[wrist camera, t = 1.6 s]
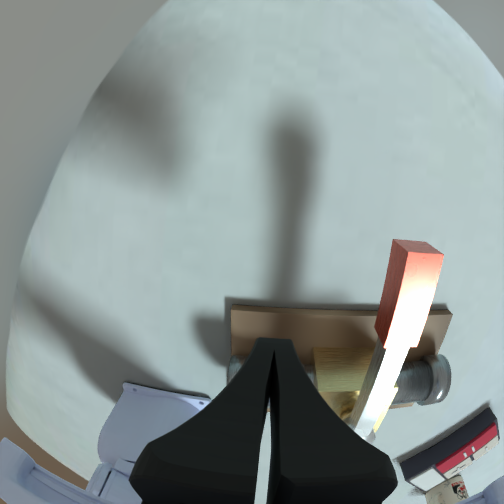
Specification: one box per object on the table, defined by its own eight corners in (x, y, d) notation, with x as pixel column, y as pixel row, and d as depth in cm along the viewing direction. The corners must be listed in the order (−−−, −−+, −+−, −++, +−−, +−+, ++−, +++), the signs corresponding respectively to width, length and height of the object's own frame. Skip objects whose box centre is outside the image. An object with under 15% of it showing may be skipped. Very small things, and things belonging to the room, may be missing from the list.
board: (233, 402, 25) (232, 408, 24) (232, 304, 21) (230, 309, 20) (409, 400, 23) (412, 406, 22) (448, 309, 20) (452, 314, 19)
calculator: (501, 442, 23) (424, 494, 26) (491, 426, 27) (418, 476, 30) (499, 421, 20) (405, 484, 24) (486, 402, 25) (398, 462, 28)
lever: (330, 436, 16) (332, 456, 15) (385, 238, 12) (399, 251, 10) (365, 434, 16) (369, 453, 15) (432, 242, 12) (450, 255, 10)
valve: (234, 385, 23) (224, 438, 18) (234, 339, 22) (221, 393, 16) (419, 383, 22) (439, 427, 16) (438, 340, 20) (467, 384, 15)
